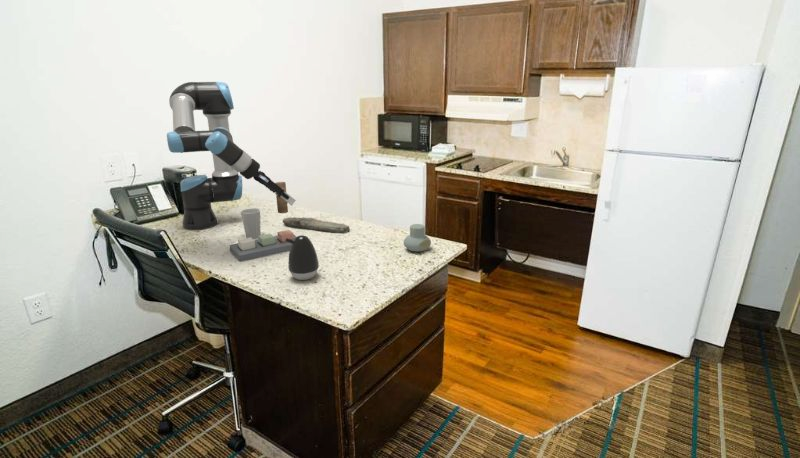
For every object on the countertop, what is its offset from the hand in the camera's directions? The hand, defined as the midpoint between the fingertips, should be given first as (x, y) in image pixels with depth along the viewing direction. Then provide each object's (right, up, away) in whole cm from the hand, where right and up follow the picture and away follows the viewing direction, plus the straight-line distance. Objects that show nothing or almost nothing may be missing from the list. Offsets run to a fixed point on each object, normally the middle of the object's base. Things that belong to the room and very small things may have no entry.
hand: (291, 201), depth 175 cm
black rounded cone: (+11, -28, -26) cm, 40 cm away
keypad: (-9, -19, -1) cm, 22 cm away
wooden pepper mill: (-3, -4, -1) cm, 5 cm away
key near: (-16, -19, -6) cm, 25 cm away
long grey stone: (+5, -11, +26) cm, 29 cm away
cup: (-20, -15, +13) cm, 28 cm away
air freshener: (+51, -20, -1) cm, 55 cm away
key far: (-3, -16, +3) cm, 16 cm away
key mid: (-9, -17, -1) cm, 19 cm away
